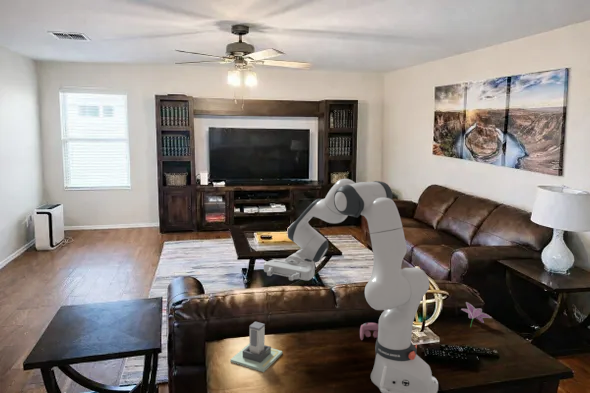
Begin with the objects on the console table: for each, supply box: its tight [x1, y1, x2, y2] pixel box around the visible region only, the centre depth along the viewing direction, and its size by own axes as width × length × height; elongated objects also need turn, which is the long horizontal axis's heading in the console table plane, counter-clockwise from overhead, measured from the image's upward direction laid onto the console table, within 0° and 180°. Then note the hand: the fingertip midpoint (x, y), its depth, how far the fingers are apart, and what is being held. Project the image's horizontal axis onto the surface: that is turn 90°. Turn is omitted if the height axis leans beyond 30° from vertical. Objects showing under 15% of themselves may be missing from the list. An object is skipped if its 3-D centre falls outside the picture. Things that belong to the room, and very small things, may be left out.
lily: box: [460, 301, 493, 328], centre depth 201 cm, size 12×12×10 cm
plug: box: [248, 321, 266, 355], centre depth 170 cm, size 4×5×12 cm
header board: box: [230, 342, 283, 373], centre depth 171 cm, size 14×14×4 cm
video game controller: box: [359, 322, 379, 341], centre depth 188 cm, size 10×5×7 cm, turn 85°
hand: (279, 276), depth 177 cm, fingers open, 8 cm apart
